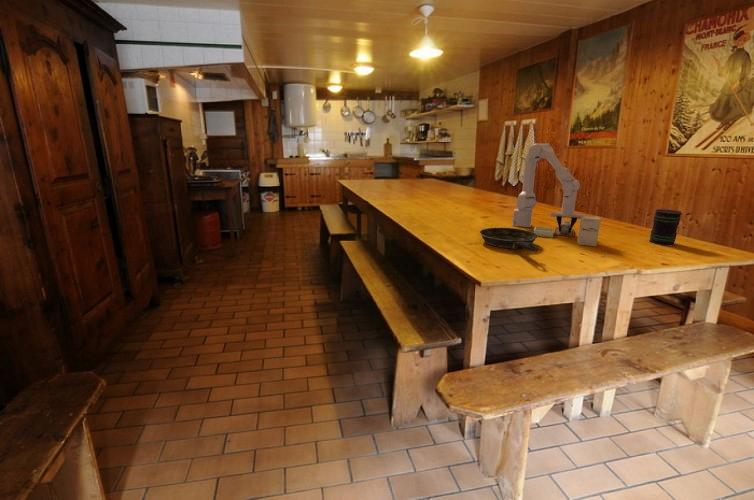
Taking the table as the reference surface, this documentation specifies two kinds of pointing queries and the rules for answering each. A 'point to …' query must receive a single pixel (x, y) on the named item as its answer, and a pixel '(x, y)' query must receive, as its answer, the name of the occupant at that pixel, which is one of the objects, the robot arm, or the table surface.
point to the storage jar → (665, 227)
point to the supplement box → (588, 230)
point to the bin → (544, 231)
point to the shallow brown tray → (563, 234)
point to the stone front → (564, 229)
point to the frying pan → (510, 238)
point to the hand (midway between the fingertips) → (564, 231)
